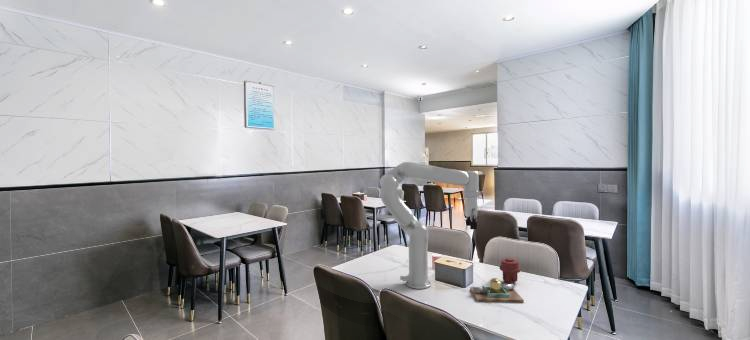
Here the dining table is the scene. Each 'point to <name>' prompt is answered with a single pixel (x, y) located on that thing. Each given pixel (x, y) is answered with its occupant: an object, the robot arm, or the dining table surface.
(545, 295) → the dining table surface
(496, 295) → the brown wooden board
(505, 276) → the mechanical component
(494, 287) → the cylinder
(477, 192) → the robot arm
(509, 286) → the shaft
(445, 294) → the dining table surface
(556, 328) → the dining table surface
